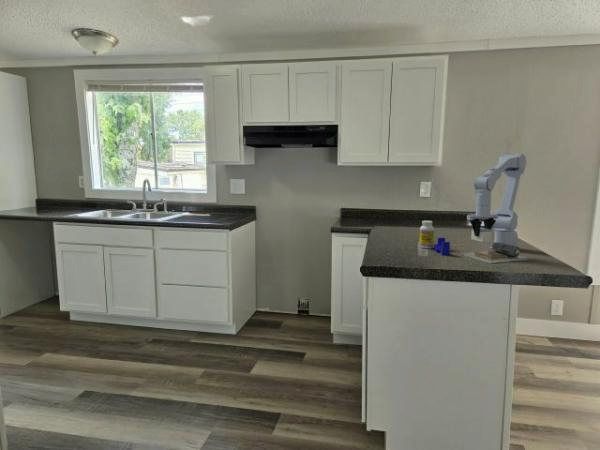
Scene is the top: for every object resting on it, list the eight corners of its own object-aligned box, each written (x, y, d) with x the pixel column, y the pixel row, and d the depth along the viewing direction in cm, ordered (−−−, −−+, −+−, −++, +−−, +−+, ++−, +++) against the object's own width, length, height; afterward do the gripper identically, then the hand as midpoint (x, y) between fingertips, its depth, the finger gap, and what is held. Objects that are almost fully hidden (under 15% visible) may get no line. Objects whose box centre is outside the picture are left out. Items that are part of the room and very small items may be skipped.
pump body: (479, 238, 178) (480, 227, 178) (491, 241, 171) (491, 229, 171) (471, 239, 177) (471, 228, 176) (482, 241, 170) (482, 230, 170)
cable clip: (434, 250, 187) (434, 237, 186) (444, 250, 186) (444, 237, 186) (438, 255, 175) (439, 242, 175) (449, 255, 175) (449, 242, 174)
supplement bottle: (418, 248, 191) (419, 221, 189) (419, 245, 197) (420, 220, 196) (433, 249, 189) (434, 222, 187) (434, 246, 195) (434, 220, 193)
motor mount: (498, 252, 179) (498, 240, 178) (527, 259, 164) (527, 247, 163) (464, 255, 174) (464, 243, 174) (490, 263, 159) (491, 250, 158)
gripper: (490, 203, 177) (489, 233, 179) (462, 204, 174) (461, 235, 176) (502, 204, 171) (500, 235, 173) (473, 205, 167) (472, 237, 169)
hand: (481, 235), depth 174 cm, fingers closed on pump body, 4 cm apart
